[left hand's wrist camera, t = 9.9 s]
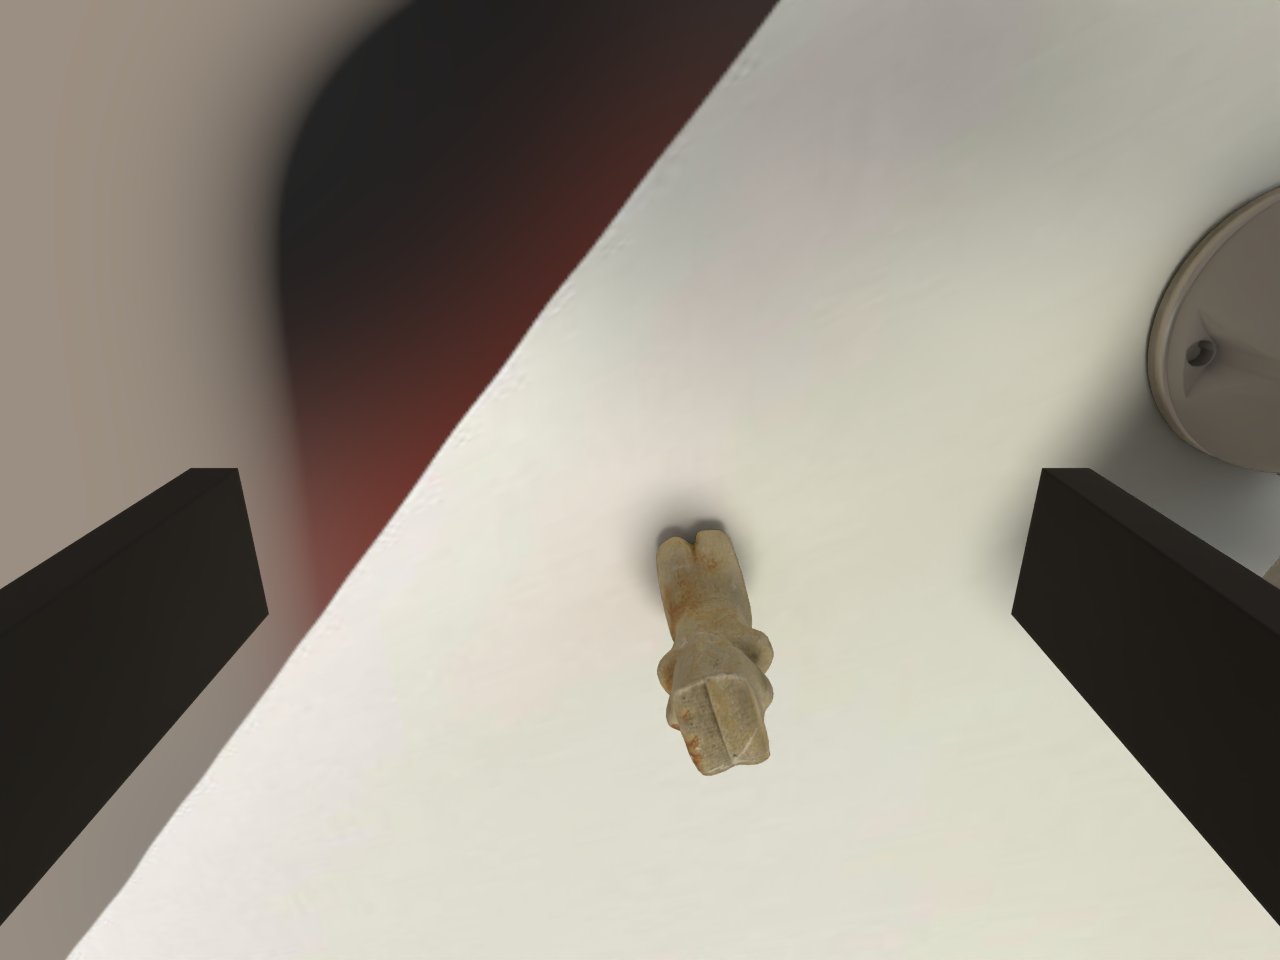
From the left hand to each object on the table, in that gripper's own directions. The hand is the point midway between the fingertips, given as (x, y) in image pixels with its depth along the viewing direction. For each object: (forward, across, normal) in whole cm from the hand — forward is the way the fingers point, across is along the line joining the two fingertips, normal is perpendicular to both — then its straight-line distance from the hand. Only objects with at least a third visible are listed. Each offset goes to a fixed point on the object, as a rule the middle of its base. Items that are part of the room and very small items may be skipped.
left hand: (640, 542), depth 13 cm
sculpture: (+29, +4, -17) cm, 34 cm away
